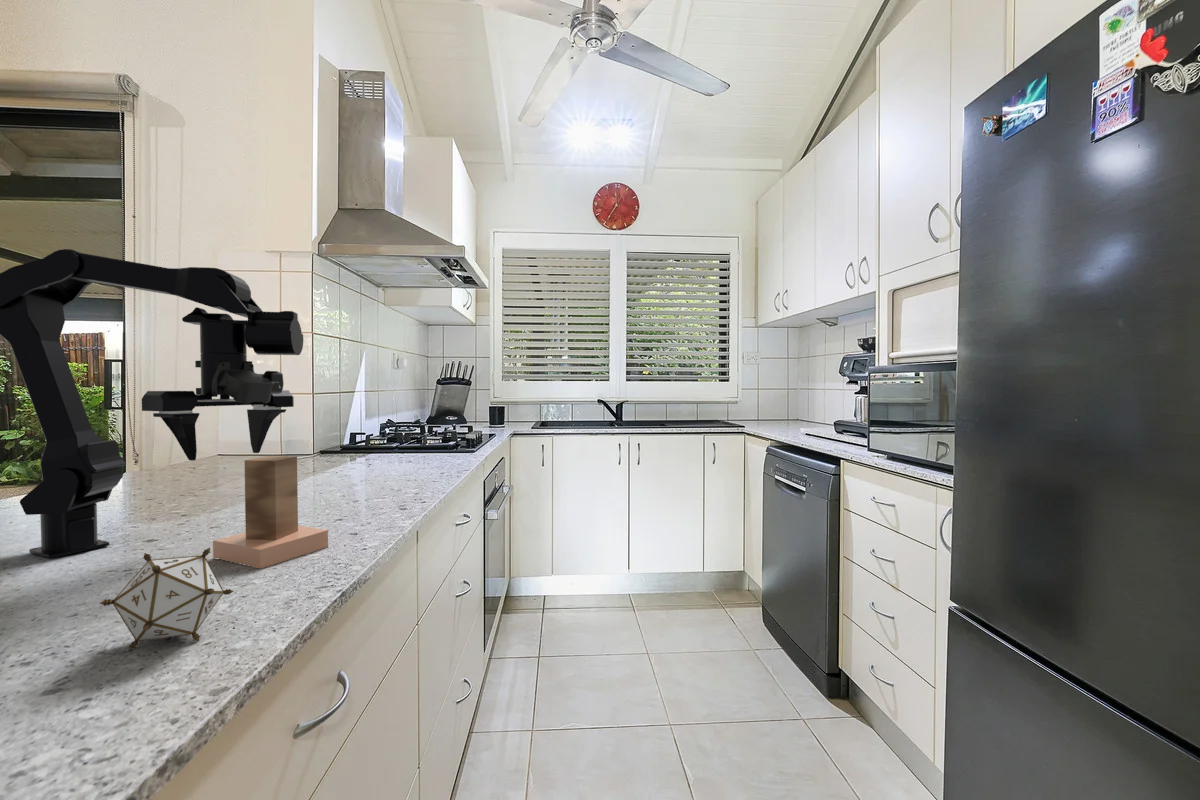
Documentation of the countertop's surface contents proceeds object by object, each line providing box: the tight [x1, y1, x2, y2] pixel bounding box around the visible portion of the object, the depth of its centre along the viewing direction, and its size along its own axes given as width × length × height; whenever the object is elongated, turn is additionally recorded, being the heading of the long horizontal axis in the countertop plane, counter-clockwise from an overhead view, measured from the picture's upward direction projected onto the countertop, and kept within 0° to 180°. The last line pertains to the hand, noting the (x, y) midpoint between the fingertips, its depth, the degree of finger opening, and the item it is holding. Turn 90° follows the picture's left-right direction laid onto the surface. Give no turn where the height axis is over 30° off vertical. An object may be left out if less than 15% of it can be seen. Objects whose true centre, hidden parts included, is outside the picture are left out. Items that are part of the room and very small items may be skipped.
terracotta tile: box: [212, 525, 329, 570], centre depth 74 cm, size 10×10×2 cm
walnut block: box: [244, 455, 299, 540], centre depth 74 cm, size 4×4×11 cm
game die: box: [98, 547, 234, 652], centre depth 49 cm, size 9×8×10 cm
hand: (225, 456), depth 79 cm, fingers open, 9 cm apart
